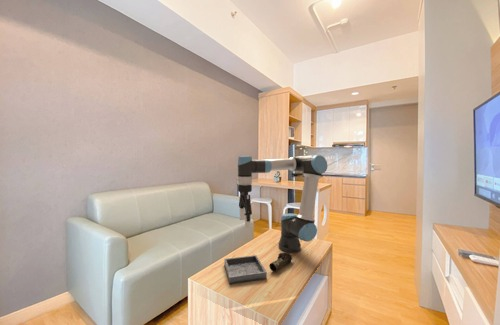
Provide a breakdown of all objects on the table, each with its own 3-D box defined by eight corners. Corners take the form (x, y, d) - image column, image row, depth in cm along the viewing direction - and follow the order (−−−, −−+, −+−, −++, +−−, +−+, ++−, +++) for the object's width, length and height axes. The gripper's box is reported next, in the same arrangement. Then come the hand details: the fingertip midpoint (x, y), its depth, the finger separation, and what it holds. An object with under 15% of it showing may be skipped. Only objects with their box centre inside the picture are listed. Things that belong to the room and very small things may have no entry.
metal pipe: (276, 273, 105) (276, 262, 105) (266, 268, 110) (266, 258, 110) (293, 262, 118) (294, 252, 118) (284, 258, 123) (284, 249, 123)
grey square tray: (256, 261, 120) (256, 255, 120) (266, 279, 101) (266, 272, 101) (224, 265, 115) (224, 258, 115) (229, 284, 96) (229, 277, 96)
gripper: (233, 182, 119) (233, 217, 119) (243, 187, 95) (243, 231, 95) (246, 181, 121) (246, 216, 121) (258, 186, 97) (258, 230, 97)
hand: (244, 223), depth 108 cm, fingers open, 13 cm apart
